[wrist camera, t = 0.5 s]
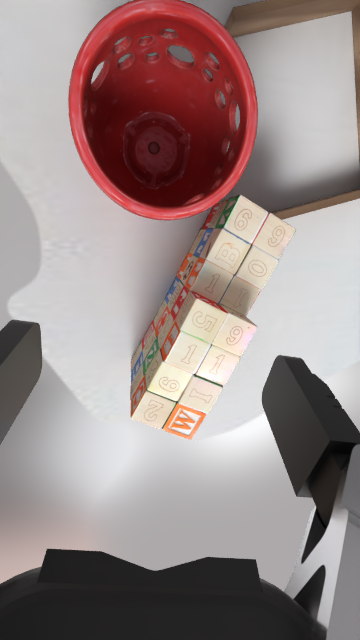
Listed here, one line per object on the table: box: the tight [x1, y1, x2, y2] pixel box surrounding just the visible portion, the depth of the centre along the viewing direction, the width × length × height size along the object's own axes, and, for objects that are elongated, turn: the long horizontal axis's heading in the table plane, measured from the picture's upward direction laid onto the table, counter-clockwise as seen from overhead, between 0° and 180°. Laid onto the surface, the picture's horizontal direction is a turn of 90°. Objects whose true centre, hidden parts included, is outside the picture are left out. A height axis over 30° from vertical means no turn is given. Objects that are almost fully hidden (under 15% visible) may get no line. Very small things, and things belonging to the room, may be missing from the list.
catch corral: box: [225, 0, 360, 220], centre depth 31 cm, size 19×14×3 cm
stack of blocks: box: [130, 195, 296, 440], centre depth 31 cm, size 21×6×12 cm, turn 152°
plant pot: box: [68, 0, 258, 220], centre depth 26 cm, size 13×13×12 cm
